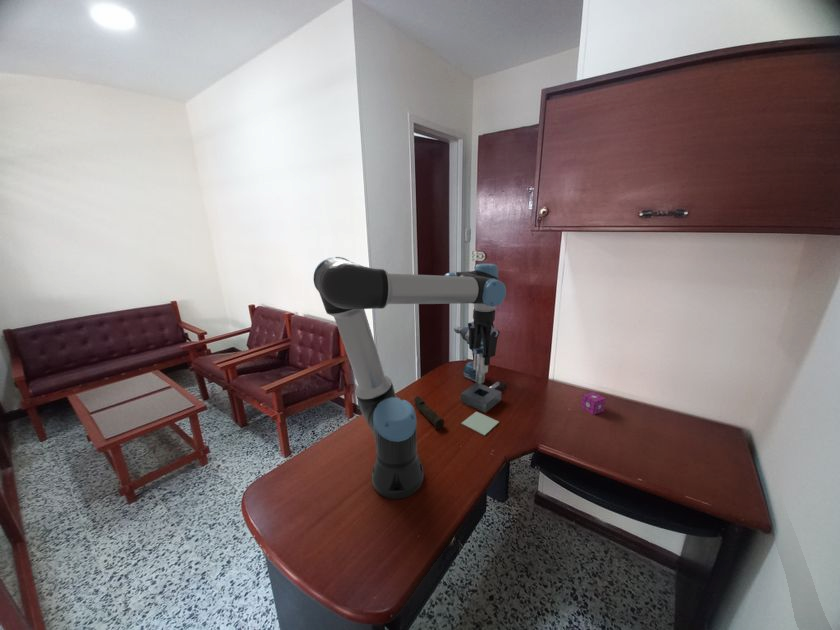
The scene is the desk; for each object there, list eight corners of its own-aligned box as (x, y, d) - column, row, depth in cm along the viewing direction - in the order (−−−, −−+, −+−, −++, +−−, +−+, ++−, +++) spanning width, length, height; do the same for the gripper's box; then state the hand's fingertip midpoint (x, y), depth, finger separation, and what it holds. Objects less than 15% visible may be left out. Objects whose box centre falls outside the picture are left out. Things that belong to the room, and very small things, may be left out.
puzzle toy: (591, 404, 126) (593, 391, 124) (603, 411, 121) (605, 398, 119) (580, 407, 124) (582, 394, 122) (593, 415, 119) (595, 402, 117)
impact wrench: (459, 366, 160) (460, 320, 153) (495, 382, 144) (498, 332, 136) (449, 371, 156) (449, 324, 148) (484, 388, 139) (486, 336, 132)
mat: (484, 435, 108) (484, 434, 108) (461, 424, 115) (461, 423, 115) (499, 422, 115) (499, 421, 115) (476, 412, 122) (476, 411, 122)
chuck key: (476, 385, 111) (478, 350, 108) (470, 382, 114) (471, 348, 110) (489, 380, 115) (492, 346, 111) (483, 377, 118) (485, 344, 114)
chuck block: (485, 412, 121) (486, 404, 120) (460, 401, 129) (460, 393, 128) (510, 392, 135) (510, 384, 134) (486, 383, 143) (486, 375, 142)
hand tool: (444, 427, 113) (444, 416, 112) (435, 431, 112) (435, 419, 110) (421, 402, 130) (421, 392, 128) (412, 405, 128) (412, 395, 127)
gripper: (510, 312, 102) (504, 376, 109) (475, 302, 115) (472, 360, 122) (494, 316, 98) (489, 382, 105) (460, 305, 111) (458, 365, 118)
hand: (480, 370), depth 113 cm, fingers closed on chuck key, 3 cm apart
